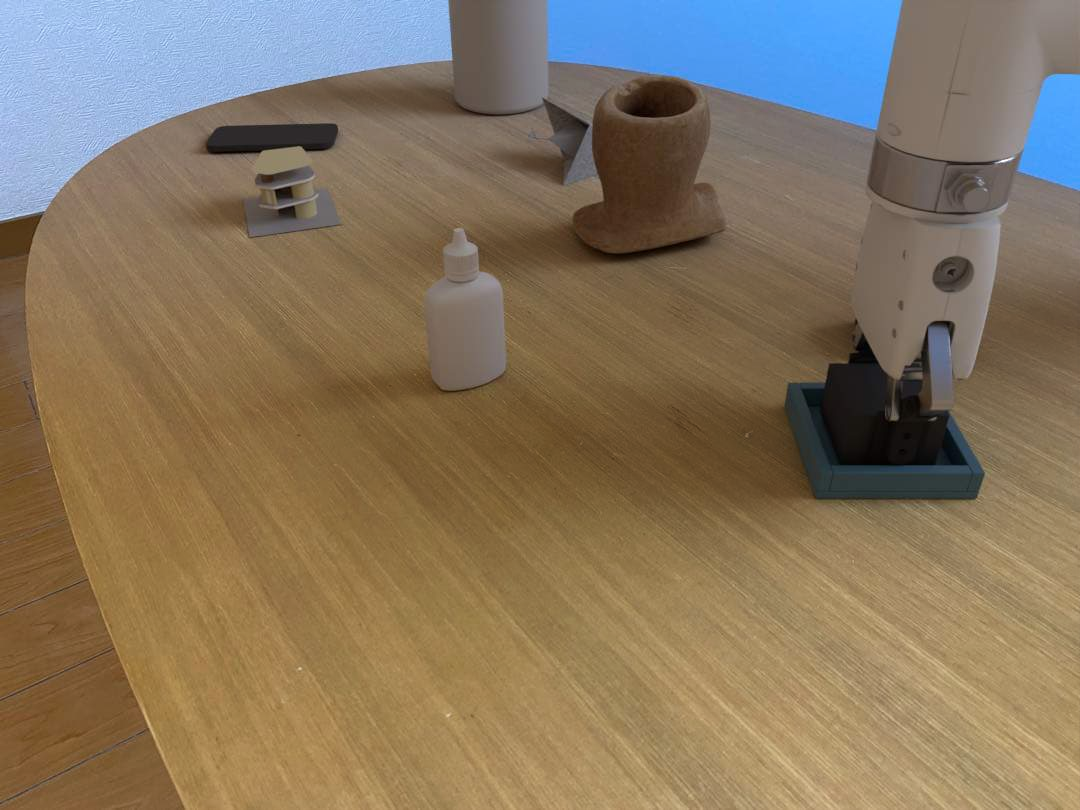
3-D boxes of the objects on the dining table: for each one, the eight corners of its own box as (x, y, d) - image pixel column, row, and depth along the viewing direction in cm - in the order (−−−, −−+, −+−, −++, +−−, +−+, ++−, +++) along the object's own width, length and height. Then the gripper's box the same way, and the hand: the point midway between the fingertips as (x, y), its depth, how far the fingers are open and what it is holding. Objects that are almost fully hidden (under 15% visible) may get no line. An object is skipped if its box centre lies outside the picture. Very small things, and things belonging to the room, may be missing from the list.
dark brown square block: (906, 411, 65) (919, 362, 62) (935, 466, 60) (950, 415, 58) (819, 411, 65) (829, 362, 63) (840, 466, 60) (851, 415, 58)
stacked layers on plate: (243, 199, 100) (232, 149, 96) (327, 188, 102) (320, 138, 99) (249, 237, 92) (238, 184, 89) (341, 224, 94) (333, 172, 91)
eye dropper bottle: (435, 361, 73) (421, 217, 66) (507, 360, 73) (501, 216, 66) (429, 393, 69) (414, 244, 62) (505, 392, 69) (498, 243, 62)
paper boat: (627, 171, 101) (552, 162, 97) (600, 206, 107) (527, 199, 103) (602, 85, 106) (529, 73, 102) (577, 123, 111) (507, 113, 107)
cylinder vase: (567, 99, 126) (567, -112, 112) (501, 123, 119) (492, -100, 104) (502, 82, 133) (494, -119, 119) (436, 103, 126) (419, -109, 111)
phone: (331, 143, 111) (203, 146, 110) (332, 150, 111) (204, 153, 111) (338, 122, 117) (217, 125, 116) (339, 129, 117) (218, 132, 117)
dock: (926, 406, 67) (932, 381, 66) (977, 499, 59) (985, 473, 58) (783, 406, 67) (787, 382, 66) (815, 499, 59) (820, 473, 58)
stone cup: (605, 278, 84) (610, 111, 75) (560, 226, 93) (559, 71, 84) (755, 252, 88) (776, 90, 79) (698, 204, 97) (711, 54, 88)
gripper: (1079, 238, 45) (982, 520, 55) (955, 120, 59) (896, 362, 69) (920, 239, 45) (853, 520, 55) (834, 120, 59) (794, 362, 69)
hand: (877, 430), depth 62 cm, fingers closed on dark brown square block, 6 cm apart
